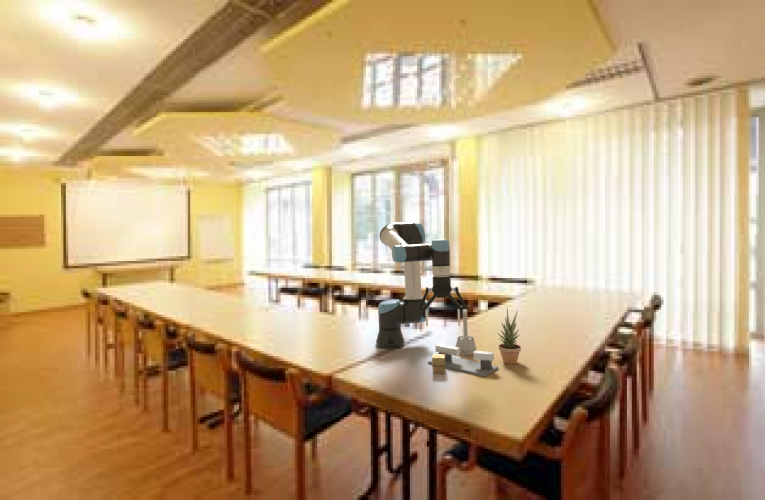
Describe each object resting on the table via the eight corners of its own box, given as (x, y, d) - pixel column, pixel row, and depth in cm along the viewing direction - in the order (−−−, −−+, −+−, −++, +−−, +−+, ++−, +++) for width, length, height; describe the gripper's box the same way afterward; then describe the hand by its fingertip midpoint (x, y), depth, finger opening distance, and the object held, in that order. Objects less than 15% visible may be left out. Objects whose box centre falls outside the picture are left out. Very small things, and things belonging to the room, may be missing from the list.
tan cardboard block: (432, 374, 172) (432, 357, 172) (433, 369, 177) (433, 353, 177) (445, 374, 171) (444, 358, 171) (445, 370, 176) (445, 354, 176)
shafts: (435, 351, 188) (435, 345, 188) (442, 348, 192) (442, 342, 192) (489, 363, 170) (489, 356, 170) (496, 359, 174) (495, 352, 174)
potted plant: (521, 359, 187) (520, 305, 185) (521, 366, 178) (520, 309, 176) (498, 357, 190) (497, 305, 188) (497, 364, 181) (496, 309, 180)
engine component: (455, 354, 198) (476, 354, 196) (454, 312, 197) (475, 312, 195) (455, 347, 208) (476, 348, 206) (454, 307, 207) (475, 307, 205)
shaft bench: (428, 363, 185) (428, 353, 185) (443, 356, 194) (442, 347, 194) (484, 377, 167) (484, 366, 166) (498, 368, 176) (497, 358, 175)
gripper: (411, 277, 172) (413, 327, 173) (472, 276, 168) (473, 327, 169) (412, 275, 179) (414, 323, 180) (470, 274, 176) (472, 323, 177)
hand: (443, 325), depth 175 cm, fingers open, 13 cm apart
